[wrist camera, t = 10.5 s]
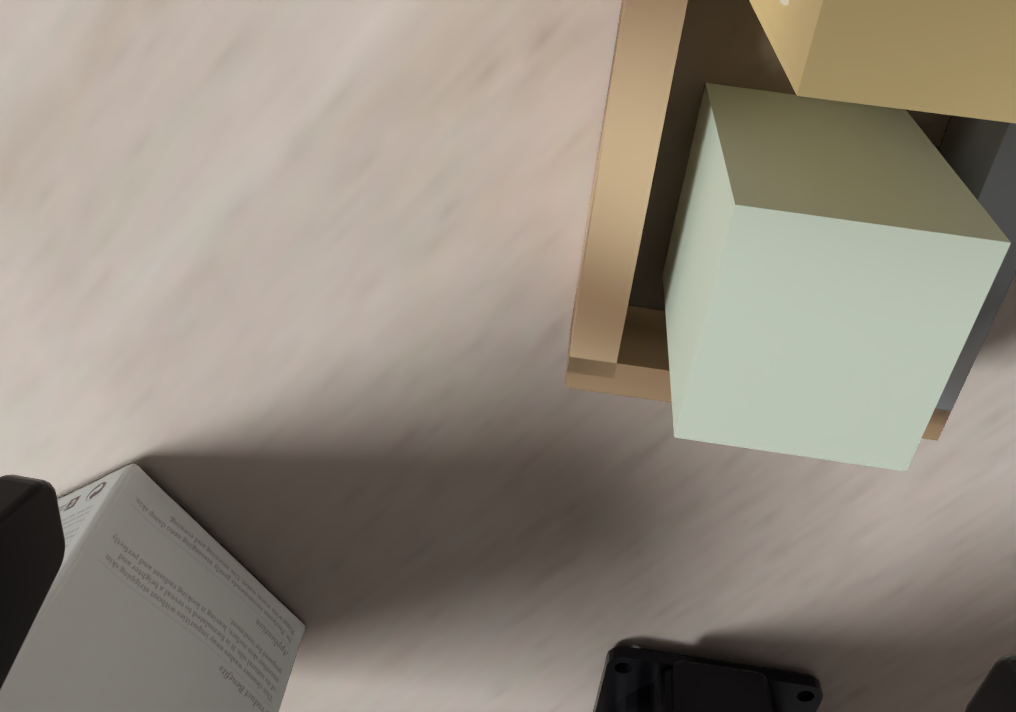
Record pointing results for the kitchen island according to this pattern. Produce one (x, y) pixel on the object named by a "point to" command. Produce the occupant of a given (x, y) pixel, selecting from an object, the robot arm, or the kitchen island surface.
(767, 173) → the sage carton
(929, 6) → the ochre carton
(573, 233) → the kitchen island surface
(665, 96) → the tray
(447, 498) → the kitchen island surface
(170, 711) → the skincare box
